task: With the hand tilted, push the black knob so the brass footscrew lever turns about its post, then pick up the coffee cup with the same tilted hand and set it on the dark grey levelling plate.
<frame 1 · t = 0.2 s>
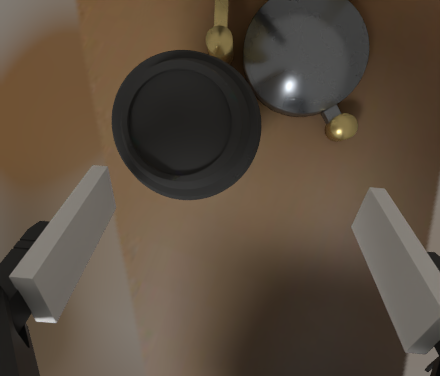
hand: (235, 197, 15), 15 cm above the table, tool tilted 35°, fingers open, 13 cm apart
levelling plate: (301, 58, 29), on the table
coffee cup: (208, 145, 31), on the table
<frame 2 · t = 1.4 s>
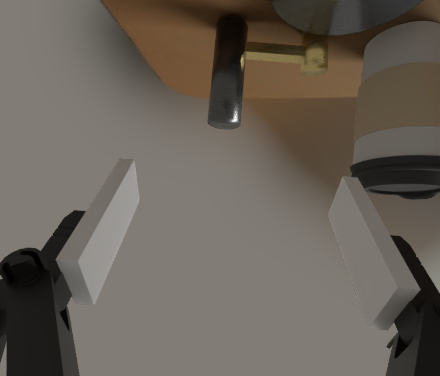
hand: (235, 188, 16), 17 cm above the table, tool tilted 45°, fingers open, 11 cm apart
footscrew lever: (269, 77, 27), point 5 cm above the table, hinge at 0.0°
coffee cup: (402, 43, 29), on the table
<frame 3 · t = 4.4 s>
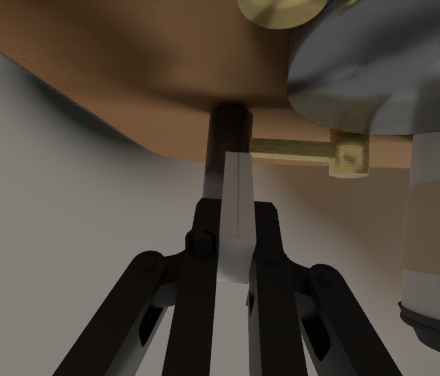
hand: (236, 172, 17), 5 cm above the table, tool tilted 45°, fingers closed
levelling plate: (434, 39, 12), on the table
footscrew lever: (284, 186, 19), point 5 cm above the table, hinge at 3.1°, touching gripper
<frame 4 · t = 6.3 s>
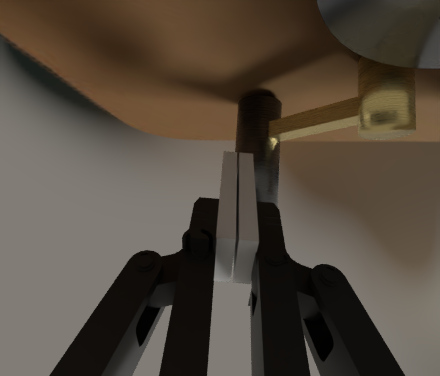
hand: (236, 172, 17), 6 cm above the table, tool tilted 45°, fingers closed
footscrew lever: (307, 164, 17), point 5 cm above the table, hinge at 47.7°
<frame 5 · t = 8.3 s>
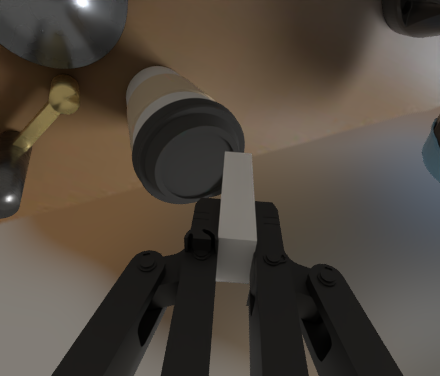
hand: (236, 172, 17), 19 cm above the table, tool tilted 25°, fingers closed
footscrew lever: (33, 139, 25), point 5 cm above the table, hinge at 47.7°
coffee cup: (157, 97, 33), on the table
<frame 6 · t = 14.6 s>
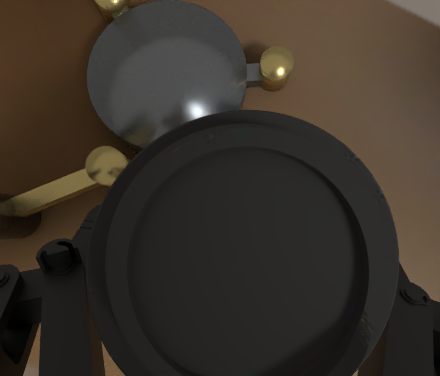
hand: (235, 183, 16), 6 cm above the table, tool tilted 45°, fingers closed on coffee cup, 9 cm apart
levelling plate: (171, 85, 23), on the table
footscrew lever: (29, 188, 17), point 5 cm above the table, hinge at 47.7°
coffee cup: (227, 238, 22), on the table, touching gripper
when the fingers open (9 cm above the table, at t = 19.4 s): coffee cup drops 1 cm, resting on levelling plate.
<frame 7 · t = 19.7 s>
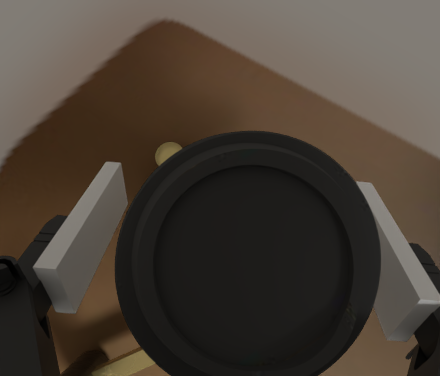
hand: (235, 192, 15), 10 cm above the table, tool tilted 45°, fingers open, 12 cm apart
levelling plate: (226, 237, 25), on the table
coffee cup: (231, 239, 23), point 2 cm above the table, touching levelling plate
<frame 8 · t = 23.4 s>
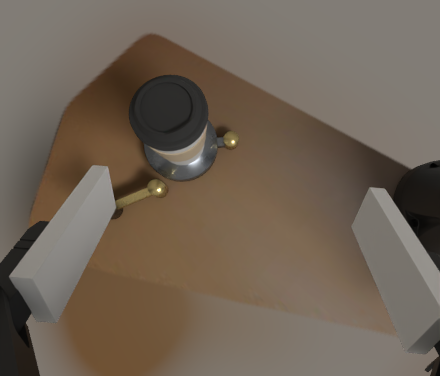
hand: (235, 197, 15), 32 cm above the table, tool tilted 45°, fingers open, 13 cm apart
levelling plate: (182, 146, 48), on the table
footscrew lever: (126, 197, 42), point 5 cm above the table, hinge at 47.7°
coffee cup: (182, 144, 46), point 2 cm above the table, touching levelling plate
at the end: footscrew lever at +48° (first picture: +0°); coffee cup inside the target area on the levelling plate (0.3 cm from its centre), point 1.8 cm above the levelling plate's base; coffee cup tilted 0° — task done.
